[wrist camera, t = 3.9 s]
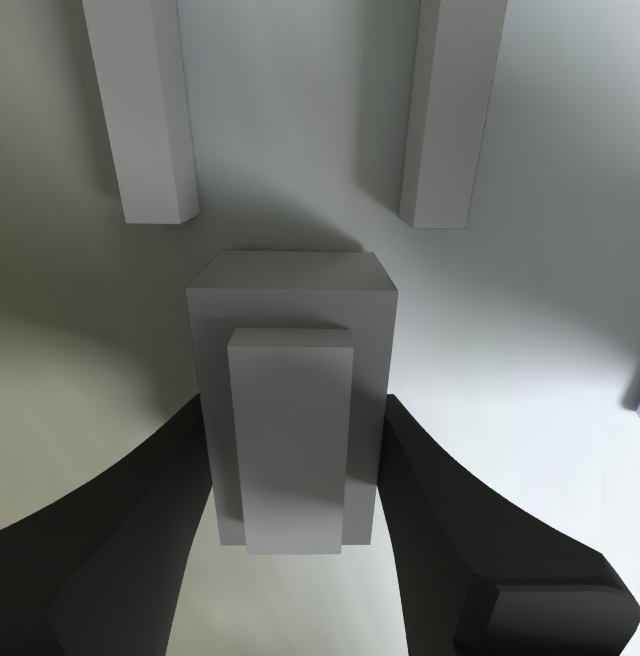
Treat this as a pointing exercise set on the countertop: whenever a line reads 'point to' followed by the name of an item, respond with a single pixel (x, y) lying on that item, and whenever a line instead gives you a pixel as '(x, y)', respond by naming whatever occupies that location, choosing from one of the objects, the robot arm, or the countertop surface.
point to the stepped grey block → (293, 394)
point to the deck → (174, 123)
